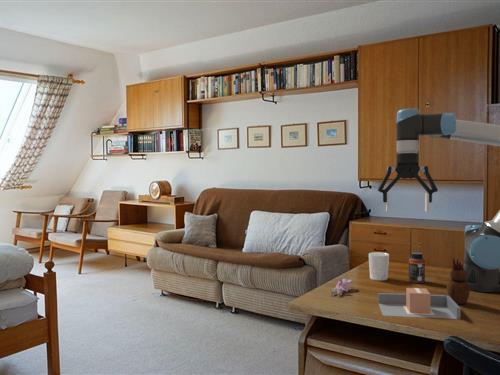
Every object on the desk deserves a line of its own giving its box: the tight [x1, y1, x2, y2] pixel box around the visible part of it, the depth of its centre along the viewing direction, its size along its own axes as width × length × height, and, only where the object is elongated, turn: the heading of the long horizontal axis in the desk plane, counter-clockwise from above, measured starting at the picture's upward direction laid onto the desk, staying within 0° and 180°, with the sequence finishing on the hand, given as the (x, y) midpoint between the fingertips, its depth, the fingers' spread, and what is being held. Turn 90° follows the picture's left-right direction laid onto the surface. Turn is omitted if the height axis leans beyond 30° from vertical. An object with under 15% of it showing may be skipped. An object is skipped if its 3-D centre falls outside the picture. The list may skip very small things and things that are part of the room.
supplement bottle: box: [408, 251, 426, 284], centre depth 174 cm, size 6×6×11 cm
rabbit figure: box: [329, 278, 353, 298], centre depth 161 cm, size 6×6×15 cm
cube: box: [405, 287, 431, 313], centre depth 140 cm, size 6×6×6 cm
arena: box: [377, 292, 462, 320], centre depth 139 cm, size 22×13×4 cm, turn 80°
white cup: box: [368, 251, 390, 282], centre depth 179 cm, size 8×8×10 cm
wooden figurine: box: [446, 257, 471, 305], centre depth 147 cm, size 7×6×15 cm
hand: (407, 211), depth 161 cm, fingers open, 13 cm apart
